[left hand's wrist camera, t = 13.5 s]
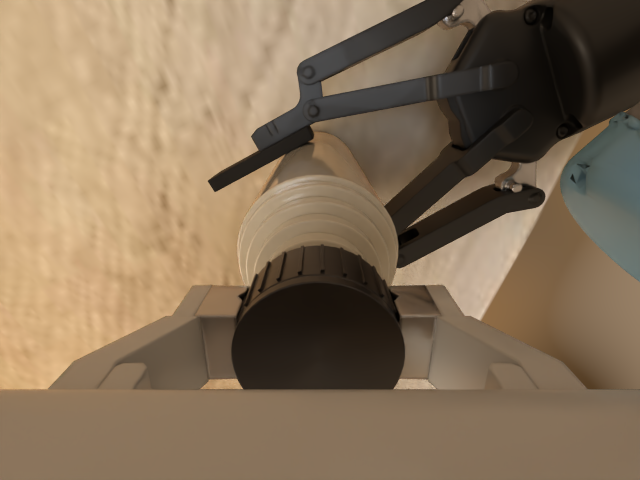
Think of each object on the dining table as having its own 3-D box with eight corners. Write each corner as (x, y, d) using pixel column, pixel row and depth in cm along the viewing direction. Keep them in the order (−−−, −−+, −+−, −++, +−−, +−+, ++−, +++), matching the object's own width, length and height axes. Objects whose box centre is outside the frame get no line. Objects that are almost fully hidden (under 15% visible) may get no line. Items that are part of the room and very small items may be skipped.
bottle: (278, 130, 28) (175, 223, 7) (357, 132, 28) (466, 229, 8) (280, 206, 30) (202, 439, 10) (353, 208, 30) (428, 441, 10)
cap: (228, 345, 10) (207, 399, 9) (271, 220, 9) (259, 252, 7) (357, 384, 11) (364, 444, 9) (416, 271, 10) (439, 314, 8)
